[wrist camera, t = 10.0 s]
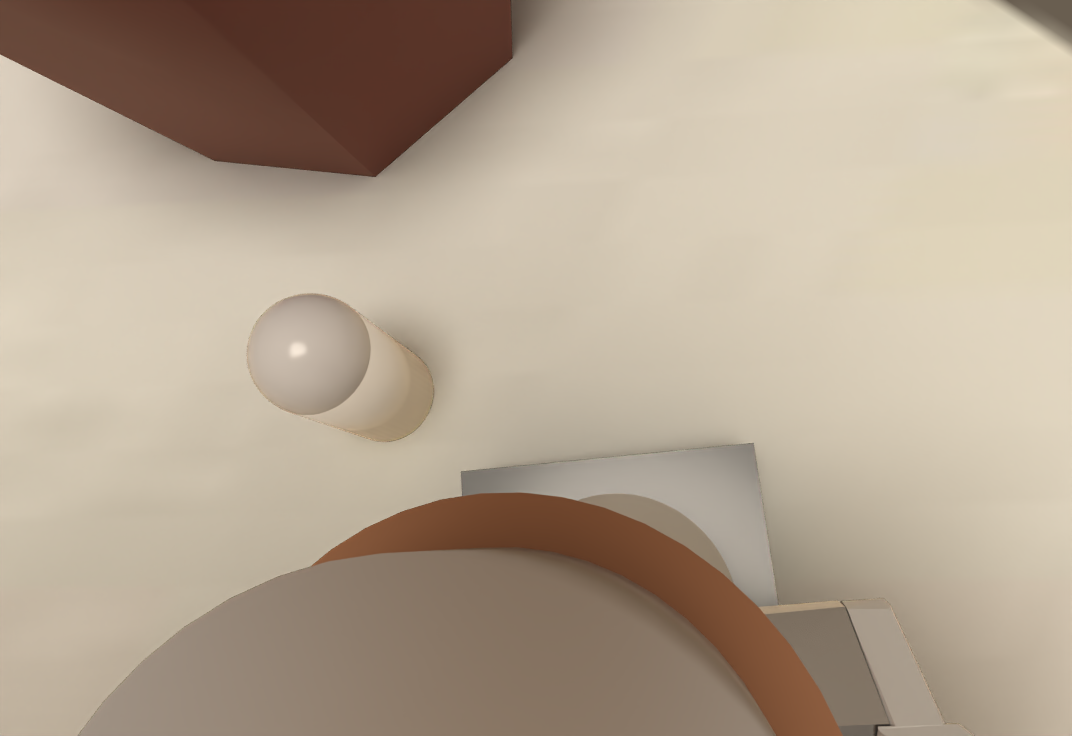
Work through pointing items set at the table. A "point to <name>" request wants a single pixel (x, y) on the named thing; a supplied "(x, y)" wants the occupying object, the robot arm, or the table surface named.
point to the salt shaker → (338, 369)
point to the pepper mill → (480, 639)
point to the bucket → (269, 70)
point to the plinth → (666, 502)
